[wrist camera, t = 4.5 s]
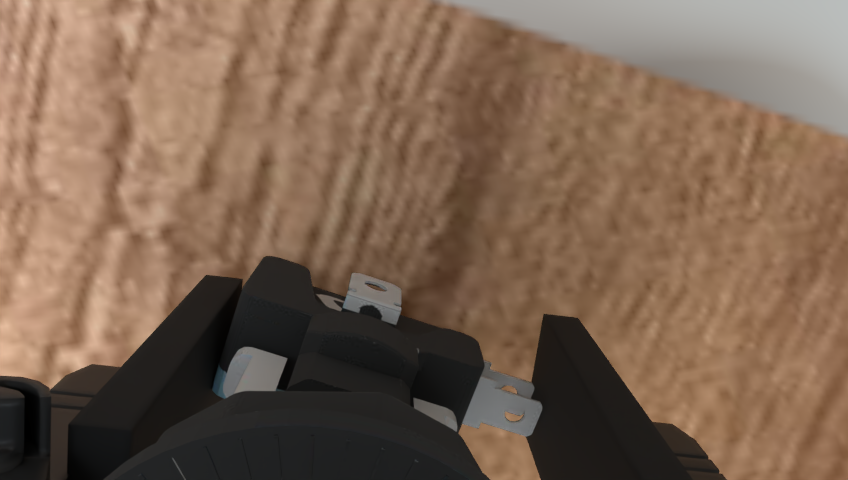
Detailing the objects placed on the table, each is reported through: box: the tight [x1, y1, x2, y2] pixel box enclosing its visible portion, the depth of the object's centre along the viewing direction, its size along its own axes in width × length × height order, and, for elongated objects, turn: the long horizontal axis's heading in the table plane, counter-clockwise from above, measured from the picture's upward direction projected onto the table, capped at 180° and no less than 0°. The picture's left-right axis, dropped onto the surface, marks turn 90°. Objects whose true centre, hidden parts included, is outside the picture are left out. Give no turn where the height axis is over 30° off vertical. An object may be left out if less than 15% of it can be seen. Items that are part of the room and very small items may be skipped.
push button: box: [103, 256, 542, 480], centre depth 11 cm, size 7×5×10 cm
